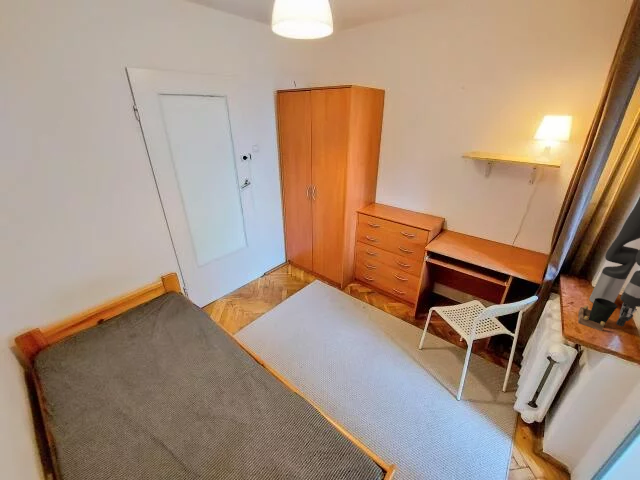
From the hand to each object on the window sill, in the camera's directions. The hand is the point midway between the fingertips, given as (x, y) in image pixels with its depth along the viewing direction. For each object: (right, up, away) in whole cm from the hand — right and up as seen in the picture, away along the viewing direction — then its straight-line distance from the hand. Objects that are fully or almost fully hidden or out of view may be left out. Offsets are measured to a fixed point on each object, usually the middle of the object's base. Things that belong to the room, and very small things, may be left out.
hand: (619, 325), depth 127 cm
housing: (-7, 0, +7) cm, 10 cm away
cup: (-5, -1, +6) cm, 8 cm away
